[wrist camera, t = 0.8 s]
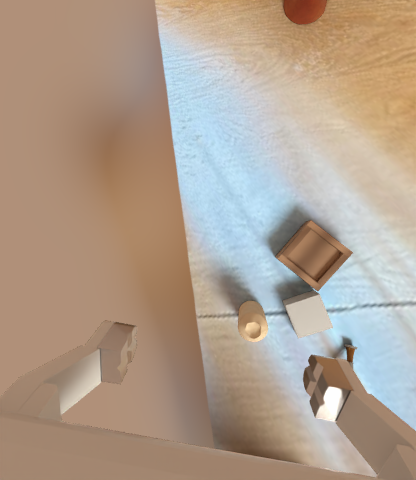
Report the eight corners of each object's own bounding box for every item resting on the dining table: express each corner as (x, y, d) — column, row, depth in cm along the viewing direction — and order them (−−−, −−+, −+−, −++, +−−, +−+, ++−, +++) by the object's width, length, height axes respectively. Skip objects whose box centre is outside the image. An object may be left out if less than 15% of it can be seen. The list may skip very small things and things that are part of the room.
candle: (234, 307, 52) (232, 324, 42) (255, 295, 51) (258, 309, 41) (247, 328, 51) (247, 350, 41) (268, 317, 50) (274, 336, 41)
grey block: (325, 320, 49) (333, 327, 45) (294, 330, 50) (298, 338, 46) (313, 289, 49) (319, 294, 45) (282, 300, 50) (285, 305, 46)
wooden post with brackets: (334, 383, 48) (345, 388, 44) (337, 343, 51) (348, 344, 46) (343, 386, 48) (355, 391, 43) (346, 346, 50) (358, 347, 46)
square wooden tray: (343, 251, 48) (353, 252, 44) (311, 286, 49) (317, 291, 45) (305, 221, 49) (310, 220, 45) (274, 257, 50) (277, 258, 46)
